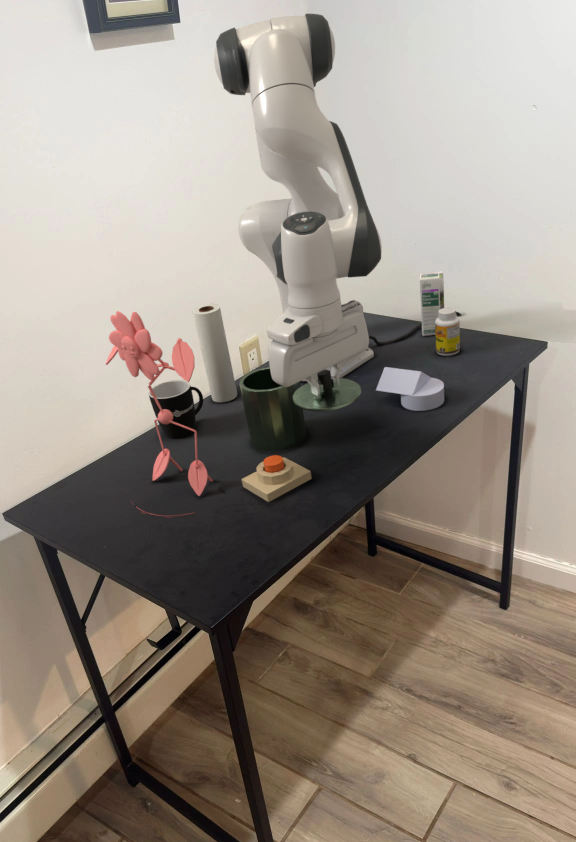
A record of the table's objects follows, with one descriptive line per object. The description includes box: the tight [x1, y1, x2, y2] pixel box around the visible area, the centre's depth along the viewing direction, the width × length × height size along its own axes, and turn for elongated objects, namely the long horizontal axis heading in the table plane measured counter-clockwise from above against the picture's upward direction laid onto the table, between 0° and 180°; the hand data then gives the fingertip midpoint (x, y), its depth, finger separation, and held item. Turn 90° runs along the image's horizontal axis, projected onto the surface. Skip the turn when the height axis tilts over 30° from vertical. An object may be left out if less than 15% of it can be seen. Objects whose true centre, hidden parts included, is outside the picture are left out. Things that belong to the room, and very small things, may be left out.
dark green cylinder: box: [239, 366, 307, 452], centre depth 144 cm, size 11×12×14 cm
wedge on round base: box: [375, 366, 445, 412], centre depth 152 cm, size 9×7×13 cm
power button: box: [262, 454, 284, 473], centre depth 130 cm, size 4×4×2 cm
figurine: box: [105, 310, 214, 519], centre depth 126 cm, size 15×26×35 cm, turn 48°
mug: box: [148, 379, 204, 439], centre depth 155 cm, size 12×9×10 cm
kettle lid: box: [293, 370, 362, 412], centre depth 130 cm, size 12×12×5 cm
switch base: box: [241, 457, 313, 503], centre depth 132 cm, size 10×8×4 cm
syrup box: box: [419, 270, 445, 337], centre depth 179 cm, size 6×6×14 cm
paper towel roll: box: [192, 301, 238, 403], centre depth 163 cm, size 7×6×21 cm
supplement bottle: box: [435, 307, 461, 357], centre depth 169 cm, size 6×6×10 cm
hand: (325, 389), depth 130 cm, fingers closed on kettle lid, 2 cm apart
